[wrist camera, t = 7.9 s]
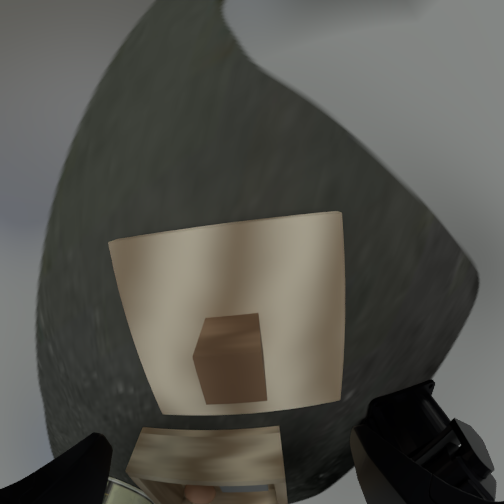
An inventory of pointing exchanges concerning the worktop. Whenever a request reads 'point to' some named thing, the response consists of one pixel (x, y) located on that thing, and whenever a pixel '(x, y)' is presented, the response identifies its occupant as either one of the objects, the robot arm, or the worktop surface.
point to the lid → (238, 313)
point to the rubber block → (244, 488)
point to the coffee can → (124, 493)
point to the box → (209, 464)
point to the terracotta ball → (200, 494)
